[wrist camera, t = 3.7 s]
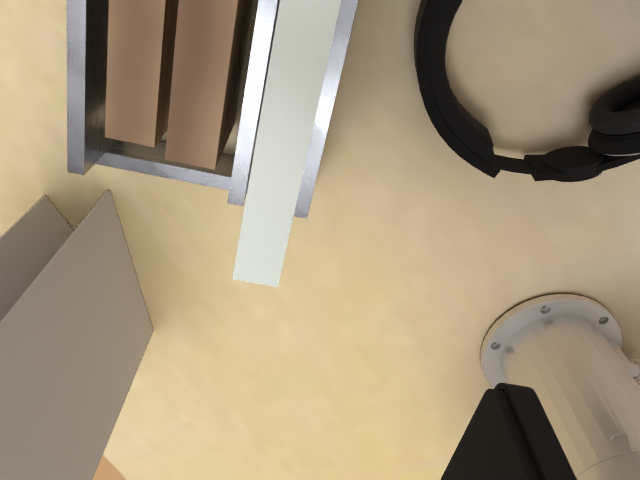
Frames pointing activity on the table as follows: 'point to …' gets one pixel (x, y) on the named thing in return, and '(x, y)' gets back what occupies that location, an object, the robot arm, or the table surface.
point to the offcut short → (139, 69)
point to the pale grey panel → (284, 135)
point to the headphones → (474, 139)
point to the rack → (94, 148)
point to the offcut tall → (206, 79)
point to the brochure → (65, 340)
